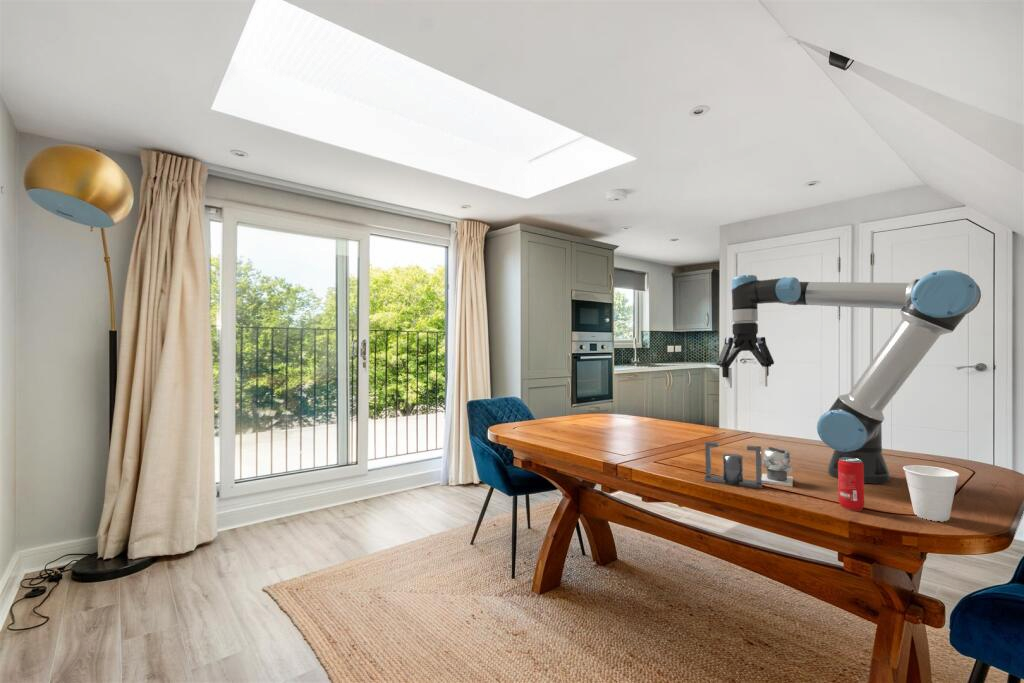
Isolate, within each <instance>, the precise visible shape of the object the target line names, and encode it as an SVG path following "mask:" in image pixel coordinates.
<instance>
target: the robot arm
mask: <svg viewBox="0 0 1024 683" xmlns="http://www.w3.org/2000/svg"><path fill="white" fill-rule="evenodd" d="M731 280H732V281H731V300H732V301H731V304H732V306H731V307H732V309H731V312H732V316H731V317H732V318H731V320H732V322H733V324H732V335H733V337H731V336H730V337H725V338H724V344H723V347H722V349H721V351H720V354H719V356H718V359H717V361H716V366H719V367H720V368H721V369H722V372H721V373H722V378H724V379H723V382H724V384H723V385H724V388H728V389H733V378H732V377H733V373H732V372H733V371H732V367H730V366H731V365H732V364H733V362H734V361H735V359H736V358H737V357H738V355H739V354H740V353H741V352H747V351H748V352H750V353H752V354H751V355H753V356H754V358H755V360H757V361H758V363H759V364H760V365H761V366H758V373H759V374H758V375H759V376H758V382H759V383H758V384H759V387H765V388H766V387H768V377H769V375H770V374H769V372H770V371H769V370H770V369H769V368H770V367H772V365H774V364H775V361H774V358H773V357H772V354H771V352H770V350H769V347H768V345H767V342H766V341H767V339H766V337H765V336H757V334H758V333H759V325H758V323H757V322H758V321H759V320H758V319H759V318H758V317H759V315H758V313H759V312H758V305H759V304H761V305H762V304H777V303H778V304H784V305H785V304H786V305H789V306H799V305H800V306H820V307H822V306H824V307H845V308H847V307H848V308H866V309H869V308H870V309H888V310H889V309H891V310H899V312H900V315H901V317H902V318H901V320H900V322H899V323H898V324H897V326H896V328H895V329H894V330H893V331H892V333H891V334H890V336H889V337H888V338H887V340H886V341H885V343H884V344H883V346H882V347H881V348H880V349H879V351H878V353H877V354H876V355H875V357H874V358H873V359H872V361H871V362H870V363H869V364H868V367H866V368H865V370H864V372H863V373H862V375H861V376H860V378H859V379H858V380H857V381H856V383H855V384H854V386H853V387H852V388H851V390H850V391H849V393H847V394H840V395H839V396H838V397H837V399H836V400H835V401H834V402H833V404H832V405H831V407H830V408H829V410H828V411H826V412H823V414H821V415H820V417H819V419H818V421H817V424H816V431H817V434H818V436H819V437H818V438H820V440H821V441H822V442H823V443H824V445H826V446H827V447H829V448H831V449H832V450H833V453H832V455H831V458H830V460H829V463H828V466H827V467H828V468H827V469H828V470H827V471H828V475H829V476H832V477H834V478H836V479H838V461H839V458H841V457H848V458H856V459H860V460H862V463H863V464H864V484H886V483H889V482H891V474H890V471H889V467H888V465H887V463H886V461H885V458H884V454H883V447H882V446H883V444H882V443H883V442H882V439H883V438H882V436H883V434H882V433H883V432H882V430H883V429H882V423H883V422H884V420H885V416H884V413H883V411H884V409H885V408H886V407H887V405H888V404H889V403H890V401H891V400H892V399H893V397H894V396H895V395H896V394H897V393H898V392H899V390H900V389H901V387H902V386H903V385H904V384H905V382H906V380H907V379H908V378H909V377H910V375H911V374H912V373H913V372H914V370H915V369H916V368H917V366H918V365H919V364H920V363H921V361H922V359H924V357H925V356H926V355H927V353H928V352H929V351H930V350H931V349H932V347H933V345H934V344H935V343H936V342H937V341H938V339H939V338H940V336H942V335H946V334H950V333H953V332H954V331H955V329H957V326H959V324H960V323H961V322H962V320H963V319H964V318H965V317H966V315H968V314H969V313H971V312H972V311H974V310H975V308H977V307H978V304H979V303H980V301H981V298H982V292H981V288H980V286H979V285H978V284H977V282H976V281H975V279H974V278H973V277H971V276H970V275H968V274H967V273H966V274H965V273H964V272H962V271H958V270H957V271H956V270H954V269H951V270H950V269H943V270H937V271H933V272H930V273H928V274H926V275H924V276H923V277H921V278H920V279H919V278H917V279H916V278H915V279H914V280H912V281H911V282H866V281H865V282H856V281H855V282H852V281H851V282H849V281H845V282H840V281H839V282H838V281H837V282H834V281H825V282H824V281H823V282H822V281H799V279H798V278H797V277H794V276H793V277H791V276H790V277H781V278H774V279H773V278H771V279H765V280H764V279H763V280H762V279H761V280H759V279H758V276H757V275H755V274H746V275H738V276H734V277H733V278H732V279H731ZM733 344H734V345H733Z"/></svg>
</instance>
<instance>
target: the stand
mask: <svg viewBox="0 0 1024 683" xmlns="http://www.w3.org/2000/svg"><path fill="white" fill-rule="evenodd" d="M793 478H794V477H793V476H788V472H786V471H777V470H771V469H767V468H766V473H762V482H763V484H768V485H774V486H776V485H777V486H784V487H792V488H793V484H794V483H793V482H794V479H793Z"/></svg>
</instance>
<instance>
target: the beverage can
mask: <svg viewBox="0 0 1024 683" xmlns="http://www.w3.org/2000/svg"><path fill="white" fill-rule="evenodd" d="M837 480H838V481H837V484H838V489H837V490H838V503H839V505H840V507H841V508H843V509H845V510H849V511H855V512H859V511H862V510H863V508H864V507H865V483H864V464H863V463H862V460H860V459H856V458H848V457H841V458H839V461H838V478H837Z"/></svg>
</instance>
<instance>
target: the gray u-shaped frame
mask: <svg viewBox="0 0 1024 683" xmlns="http://www.w3.org/2000/svg"><path fill="white" fill-rule="evenodd" d="M704 445H705V447H704V448H705V450H704V451H705V476H704V481H705V482H712V483H717V484H718V483H719V484H725V485H728V486H736V487H737V486H741V487H748V488H758V489H763V485H764V483H763V482H762V474H763V473H762V446H757V445H756V446H755V445H747V446H746V450H747V451H752V452H753V451H754V452H755V471H756V472H755V473H756V474H755V475H756V477H755V480H753V479H745V478H744V472H743V471H744V467H743V466H744V462H743V458H744V457H743V455H741V454H737V453H725V454H722V459H723V460H722V464H723V469H722V471H723V472H722V473H723V476H722V475H713V474H712V448H718V447H719V446H720V444H719V442H714V441H705V444H704Z"/></svg>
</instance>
